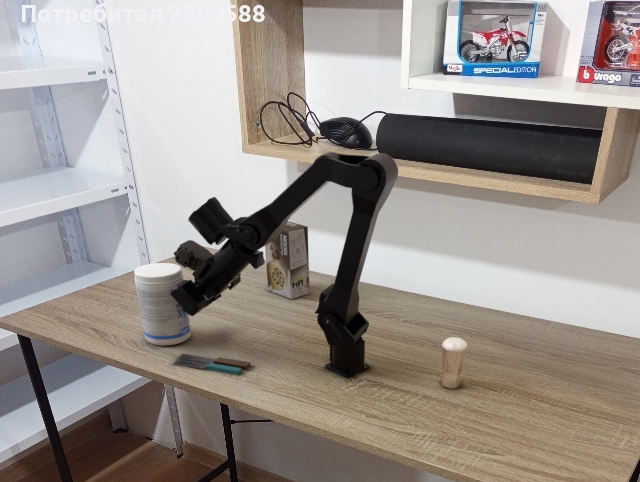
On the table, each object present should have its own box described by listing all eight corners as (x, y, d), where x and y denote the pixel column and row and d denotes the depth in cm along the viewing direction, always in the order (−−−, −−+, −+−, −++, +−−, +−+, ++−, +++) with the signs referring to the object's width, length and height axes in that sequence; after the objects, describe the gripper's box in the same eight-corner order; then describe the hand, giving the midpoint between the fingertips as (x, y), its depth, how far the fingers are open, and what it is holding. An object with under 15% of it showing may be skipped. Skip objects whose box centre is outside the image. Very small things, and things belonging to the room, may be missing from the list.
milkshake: (460, 393, 126) (466, 343, 120) (434, 386, 128) (438, 336, 123) (470, 384, 129) (476, 334, 124) (445, 376, 132) (449, 328, 126)
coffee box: (310, 293, 168) (309, 226, 159) (291, 299, 164) (288, 231, 155) (286, 284, 173) (283, 218, 164) (266, 290, 169) (262, 223, 160)
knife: (250, 366, 134) (250, 362, 134) (246, 370, 133) (245, 366, 132) (183, 354, 138) (182, 350, 137) (178, 359, 136) (177, 354, 136)
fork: (242, 371, 132) (242, 367, 132) (238, 375, 131) (237, 371, 130) (179, 360, 136) (178, 356, 135) (173, 364, 134) (173, 360, 134)
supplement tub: (193, 344, 142) (183, 275, 134) (145, 349, 140) (133, 279, 132) (189, 327, 150) (180, 260, 142) (144, 331, 148) (132, 263, 139)
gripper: (222, 217, 136) (180, 265, 145) (172, 242, 122) (129, 294, 131) (260, 261, 139) (217, 305, 148) (216, 291, 124) (170, 338, 133)
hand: (184, 309), depth 140 cm, fingers closed, pressing on supplement tub
